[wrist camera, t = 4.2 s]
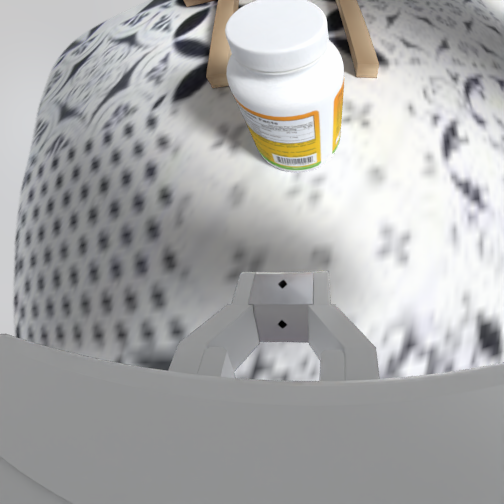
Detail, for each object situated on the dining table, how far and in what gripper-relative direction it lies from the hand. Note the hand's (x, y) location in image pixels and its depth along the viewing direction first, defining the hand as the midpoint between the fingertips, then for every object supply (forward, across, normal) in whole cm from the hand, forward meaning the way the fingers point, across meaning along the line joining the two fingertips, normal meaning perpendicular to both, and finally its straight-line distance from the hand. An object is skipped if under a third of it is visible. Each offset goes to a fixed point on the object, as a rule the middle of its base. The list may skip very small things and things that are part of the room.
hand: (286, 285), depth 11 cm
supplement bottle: (+12, 0, -2) cm, 12 cm away
